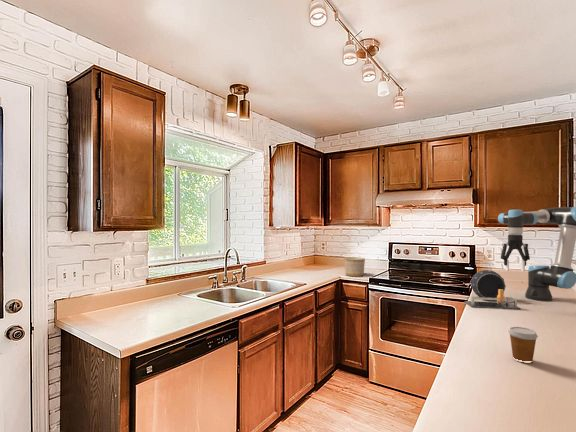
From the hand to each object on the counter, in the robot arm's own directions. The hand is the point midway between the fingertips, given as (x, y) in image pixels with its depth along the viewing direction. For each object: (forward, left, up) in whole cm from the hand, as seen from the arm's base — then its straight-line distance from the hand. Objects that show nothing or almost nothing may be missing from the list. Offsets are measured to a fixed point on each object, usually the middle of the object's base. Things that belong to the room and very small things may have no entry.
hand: (515, 270), depth 207 cm
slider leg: (+8, -1, -22) cm, 23 cm away
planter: (+93, -98, -24) cm, 137 cm away
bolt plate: (+12, -3, -23) cm, 26 cm away
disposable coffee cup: (+36, +81, -24) cm, 92 cm away
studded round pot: (+7, -21, -24) cm, 32 cm away
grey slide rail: (+12, -1, -23) cm, 26 cm away
